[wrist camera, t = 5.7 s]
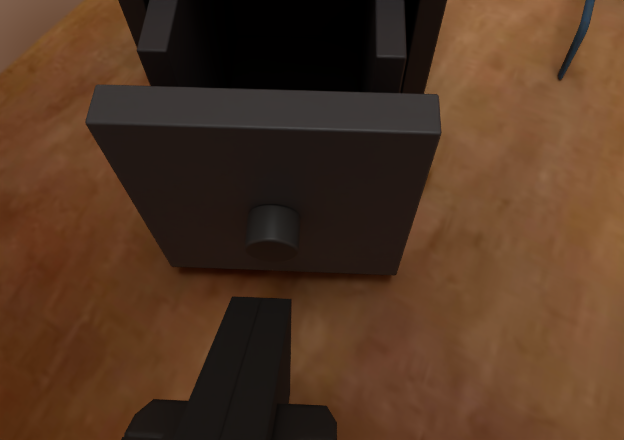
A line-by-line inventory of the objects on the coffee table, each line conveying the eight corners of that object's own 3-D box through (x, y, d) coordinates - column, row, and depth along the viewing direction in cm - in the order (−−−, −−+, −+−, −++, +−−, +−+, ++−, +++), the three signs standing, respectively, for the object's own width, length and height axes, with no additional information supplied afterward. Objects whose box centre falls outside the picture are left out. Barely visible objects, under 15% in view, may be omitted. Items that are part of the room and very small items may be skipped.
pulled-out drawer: (397, 307, 20) (445, 177, 13) (165, 297, 21) (71, 166, 13) (390, 44, 26) (421, -156, 18) (210, 39, 26) (164, -159, 19)
